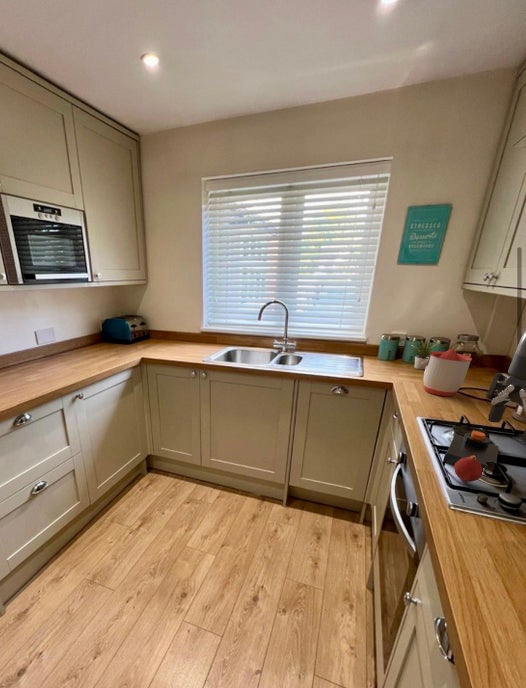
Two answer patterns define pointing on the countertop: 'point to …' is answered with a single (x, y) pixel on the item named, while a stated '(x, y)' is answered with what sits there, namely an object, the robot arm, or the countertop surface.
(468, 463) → the onion
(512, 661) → the countertop surface
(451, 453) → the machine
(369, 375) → the countertop surface
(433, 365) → the citrus juicer
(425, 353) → the house plant
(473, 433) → the button
